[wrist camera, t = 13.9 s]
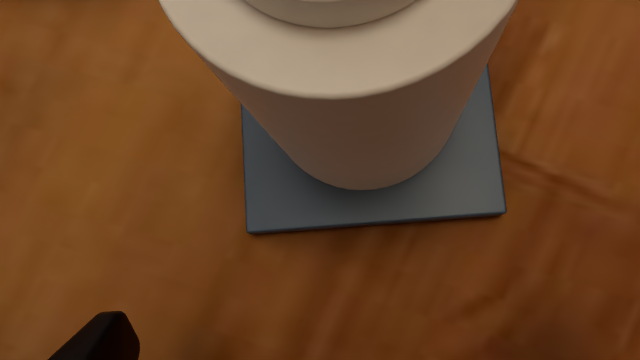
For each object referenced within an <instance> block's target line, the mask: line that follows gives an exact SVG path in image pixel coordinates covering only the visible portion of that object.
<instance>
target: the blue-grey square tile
mask: <svg viewBox="0 0 640 360" xmlns="http://www.w3.org/2000/svg"><path fill="white" fill-rule="evenodd" d="M241 114H242V138H243V162H244V185H245V209H246V231H247V233H250V234H265V233H278V232H291V231H304V230H318V229H331V228H344V227H357V226H370V225H383V224H396V223H410V222H423V221H436V220H449V219H462V218H475V217H489V216H500V215H502V214H505V213H506V212H507V209H506V201H505V194H504V186H503V178H502V171H501V163H500V155H499V147H498V140H497V132H496V124H495V117H494V109H493V101H492V93H491V86H490V78H489V70H488V63H487V64H486V66H485V68H484V70H483V72H482V74H481V76H480V78H479V80H478V82H477V84H476V86H475V88H474V90H473V92H472V94H471V96H470V97H469V99H468V101H467V103H466V105H465V107H464V109H463V111H462V113H461V115H460V117H459V119H458V121H457V123H456V125H455V127H454V129H453V131H452V133H451V135H450V136H449V138H448V140H447V142H446V144H445V145H444V147H443V148H442V150H441V151H440V153H439V154H438V155H437V156H436V157H435V158H434V159H433V160H432V162H430V163H429V164H428V165H427V166H426V167H425V168H423V169H422V170H421V171H420V172H418V173H416V174H415V175H413V176H412V177H410V178H408V179H406V180H404V181H402V182H400V183H397V184H394V185H391V186H388V187H384V188H379V189H373V190H351V189H344V188H339V187H335V186H332V185H329V184H326V183H324V182H322V181H320V180H318V179H316V178H314V177H312V176H311V175H309V174H308V173H306V172H305V171H303V170H302V169H301V168H300V167H299V166H298V165H297V164H295V163H294V162H293V160H292V159H291V158H290V157H289V156H288V155H287V154H286V153H285V151H284V150H283V149H282V148H281V147H280V146H279V145H278V144H277V143H276V141H275V140H274V139H273V138H272V137H271V136H270V135H269V134H268V133H267V131H266V130H265V129H264V128H263V127H262V126H261V125H260V124H259V122H258V121H257V120H256V119H255V118H254V117H253V116H252V115H251V114H250V112H249V111H248V110H247V109H246V108H245V107H244V106H243V105H242V104H241Z"/></svg>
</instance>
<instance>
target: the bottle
mask: <svg viewBox="0 0 640 360" xmlns="http://www.w3.org/2000/svg"><path fill="white" fill-rule="evenodd" d="M518 2H519V0H159V3H160V5H161V7H162V9H163V11H164V12H165V14H166V15H167V17H168V18H169V20H170V22H171V23H172V25H173V26H174V28H175V29H176V30H177V31H178V33H179V34H180V35H181V36H182V37H183V38H184V40H185V41H186V42H187V43H188V44H189V45H190V47H191V48H192V49H193V50H194V51H195V52H196V53H197V54H198V56H199V57H200V58H201V59H202V60H203V61H204V62H205V63H206V64H207V66H208V67H209V68H210V69H211V70H212V71H213V72H214V73H215V75H216V76H217V77H218V78H219V79H220V80H221V81H222V82H223V83H224V85H225V86H226V87H227V88H228V89H229V90H230V91H231V92H232V93H233V95H234V96H235V97H236V98H237V99H238V100H239V101H240V102H241V104H242V105H243V106H244V107H245V108H246V109H247V110H248V111H249V112H250V114H251V115H252V116H253V117H254V118H255V119H256V120H257V121H258V122H259V124H260V125H261V126H262V127H263V128H264V129H265V130H266V131H267V133H268V134H269V135H270V136H271V137H272V138H273V139H274V140H275V141H276V143H277V144H278V145H279V146H280V147H281V148H282V149H283V150H284V151H285V153H286V154H287V155H288V156H289V157H290V158H291V159H292V160H293V162H294V163H295V164H297V165H298V166H299V167H300V168H301V169H302V170H303V171H305V172H306V173H308V174H309V175H311V176H312V177H314V178H316V179H318V180H320V181H322V182H324V183H326V184H329V185H332V186H335V187H339V188H344V189H351V190H373V189H379V188H384V187H388V186H391V185H394V184H397V183H400V182H402V181H404V180H406V179H408V178H410V177H412V176H413V175H415V174H416V173H418V172H420V171H421V170H422V169H423V168H425V167H426V166H427V165H428V164H429V163H430V162H432V160H433V159H434V158H435V157H436V156H437V155H438V154H439V153H440V151H441V150H442V148H443V147H444V145H445V144H446V142H447V140H448V138H449V136H450V135H451V133H452V131H453V129H454V127H455V125H456V123H457V121H458V119H459V117H460V115H461V113H462V111H463V109H464V107H465V105H466V103H467V101H468V99H469V97H470V96H471V94H472V92H473V90H474V88H475V86H476V84H477V82H478V80H479V78H480V76H481V74H482V72H483V70H484V68H485V66H486V64H487V62H488V60H489V58H490V57H491V55H492V53H493V51H494V49H495V47H496V45H497V43H498V41H499V39H500V37H501V35H502V33H503V31H504V29H505V27H506V25H507V23H508V21H509V20H510V18H511V16H512V14H513V12H514V10H515V8H516V6H517V4H518Z"/></svg>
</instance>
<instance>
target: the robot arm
mask: <svg viewBox="0 0 640 360" xmlns="http://www.w3.org/2000/svg"><path fill="white" fill-rule="evenodd" d="M139 352H140V343H139V339H138V337H137V335H136V333H135V331H134V329H133V327H132V325H131V323H130V322H129V320H128V318H127V316H126V314H125V313H123V312H122V311H110V312H101V313H99V314H97V315H96V316H95V317H94V318H93V319H92V320H90V321H89V322H88V323H87V324H86V325H85V326H84V327H83V328H82V329H81V330H79V331H78V332H77V333H76V334H75V335H74V336H73V337H72V338H71V339H70V340H69V341H67V342H66V343H65V344H64V345H63V346H62V347H61V348H60V349H59V350H58V351H56V352H55V353H54V354H53V355H52V356H51V357H50V358H49V359H48V360H138V358H139Z"/></svg>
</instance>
